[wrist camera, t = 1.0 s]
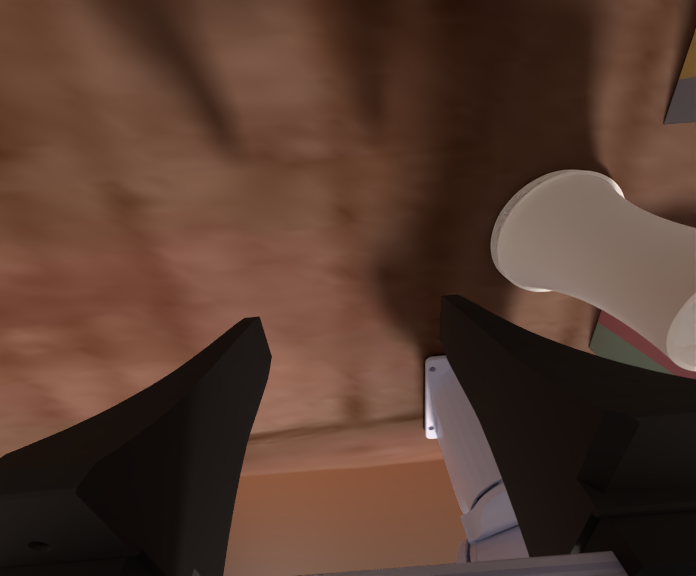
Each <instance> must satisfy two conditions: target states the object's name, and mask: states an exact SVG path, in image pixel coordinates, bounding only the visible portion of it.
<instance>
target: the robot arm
mask: <svg viewBox="0 0 696 576" xmlns="http://www.w3.org/2000/svg"><path fill="white" fill-rule="evenodd" d="M440 341H441V344H442V346H443V349H444V352H445V355H444V356H434V357H429V358H427V359H426V361H425V435H426V437H427V438H429V439H434V438H438V442H439V445H440V448H441V451H442V454H443V457H444V460H445V463H446V466H447V469H448V472H449V475H450V478H451V482H452V485H453V488H454V491H455V494H456V497H457V500H458V503H459V505H460V507H461V510H462V512H463V513H464V515H463V516H461V520H462V523H463V526H464V529H465V533H466V536H467V538H465V539H463V540H462V541H461V542H460V543H459V546H458V550H457V563H452V564H439V565H428V566H414V567H402V568H389V569H377V570H363V571H350V572H339V573H324V574H312V575H299V576H696V379H692V378H687V377H682V376H677V375H672V374H667V373H662V372H657V371H653V370H649V369H645V368H641V367H637V366H633V365H629V364H625V363H621V362H617V361H614V360H610V359H607V358H603V357H600V356H596V355H593V354H590V353H587V352H584V351H581V350H577V349H574V348H571V347H569V346H566V345H563V344H560V343H557V342H555V341H552V340H550V339H547V338H545V337H542V336H539V335H537V334H535V333H532V332H530V331H528V330H526V329H523V328H521V327H519V326H517V325H515V324H513V323H511V322H509V321H507V320H505V319H503V318H501V317H499V316H497V315H495V314H493V313H491V312H489V311H488V310H486V309H484V308H482V307H480V306H478V305H477V304H475V303H473V302H471V301H469V300H468V299H466V298H464V297H462V296H460V295H448V296H441V320H440ZM271 358H272V356H271V353H270V349H269V346H268V343H267V340H266V336H265V333H264V330H263V326H262V323H261V320H260V317H251V318H244V319H243V320H241V321H240V322H238V323H237V324H235V325H234V326H233V327H232V328H230V329H229V330H228V331H227V332H225V333H224V334H223V335H222V336H220V337H219V338H218V339H217V340H215V341H214V342H213V343H212V344H210V345H209V346H208V347H207V348H205V349H204V350H203V351H201V352H200V353H199V354H197V355H196V356H194V357H193V358H192V359H190V360H189V361H188V362H186V363H185V364H184V365H182V366H181V367H179V368H178V369H176V370H175V371H173V372H172V373H170V374H169V375H167V376H166V377H164V378H163V379H161V380H159V381H158V382H156V383H155V384H153V385H151V386H150V387H148V388H146V389H144V390H143V391H141V392H139V393H137V394H135V395H134V396H132V397H130V398H128V399H126V400H125V401H123V402H121V403H119V404H117V405H116V406H114V407H112V408H110V409H108V410H106V411H104V412H102V413H100V414H98V415H96V416H94V417H91V418H89V419H87V420H85V421H83V422H81V423H79V424H77V425H74V426H72V427H70V428H68V429H65V430H63V431H61V432H59V433H56V434H54V435H51V436H49V437H47V438H44V439H42V440H40V441H37V442H35V443H32V444H30V445H28V446H25V447H23V448H20V449H18V450H15V451H13V452H10V453H8V454H6V455H4V456H3V457H1V458H0V576H223V572H224V566H225V558H226V551H227V545H228V539H229V532H230V527H231V521H232V515H233V510H234V503H235V499H236V493H237V488H238V483H239V478H240V473H241V469H242V464H243V460H244V455H245V451H246V446H247V442H248V439H249V435H250V432H251V429H252V426H253V423H254V420H255V417H256V414H257V411H258V408H259V405H260V402H261V399H262V396H263V393H264V390H265V386H266V383H267V380H268V375H269V370H270V364H271ZM431 367H434V368H431Z"/></svg>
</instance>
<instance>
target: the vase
mask: <svg viewBox="0 0 696 576" xmlns="http://www.w3.org/2000/svg"><path fill="white" fill-rule="evenodd" d="M491 255H492V259H493V262H494V264H495V266H496V268H497V269H498V271H499V272H500V273H501V274H502V275H503V276H504V277H505V278H507V279H508V280H509V281H510V282H512V283H513V284H514V285H516V286H518V287H520V288H522V289H525V290H529V291H536V292H546V291H556V292H560V293H564V294H567V295H570V296H573V297H575V298H578V299H580V300H583V301H585V302H587V303H589V304H592V305H593V306H595V307H597V308H599V309H601V310H603V311H605V312H607V313H608V314H610V315H612V316H614V317H615V318H617V319H618V320H620V321H622V322H623V323H625V324H626V325H627V326H629V327H630V328H632V329H633V330H635V331H636V332H637V333H639V334H640V335H641V336H643V337H644V338H645V339H647V340H648V341H649V342H651V343H652V344H653V345H654V346H656V347H657V348H658V349H659V350H660V351H662V352H663V353H664V354H665V355H666V356H667V357H668V358H670V359H671V360H672V361H673V362H674V363H675V364H676V365H678V366H679V367H681V368H684V369H686V370H690V371H695V372H696V228H693V227H690V226H686V225H683V224H679V223H676V222H673V221H670V220H667V219H664V218H661V217H659V216H656V215H654V214H652V213H649V212H647V211H645V210H643V209H641V208H639V207H637V206H635V205H634V204H632V203H630V202H629V201H627V200H626V199H625V198H624V195H623V193H622V191H621V189H620V188H619V186H618V185H617V184H616V183H615V182H614V181H613V180H612V179H610V178H609V177H607V176H605V175H603V174H601V173H597V172H593V171H584V170H573V169H569V170H560V171H555V172H551V173H549V174H546V175H543V176H541V177H539V178H537V179H535V180H533V181H532V182H530V183H529V184H527V185H526V186H524V187H523V188H522V189H521V190H519V191H518V192H517V193H516V194H515V195H514V196H513V197H512V198H511V199H510V200H509V201H508V203H507V204H506V205H505V207H504V208H503V210H502V211H501V213H500V215H499V216H498V218H497V220H496V223H495V225H494V228H493V232H492V236H491Z"/></svg>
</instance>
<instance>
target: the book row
mask: <svg viewBox="0 0 696 576" xmlns="http://www.w3.org/2000/svg"><path fill="white" fill-rule="evenodd" d="M690 122H696V29H695V32H694V35H693V38H692V41H691V44H690V47H689V50H688V53H687V56H686V59H685V62H684V65H683V68H682V71H681V74H680V77H679V80H678V83H677V86H676V89H675V92H674V95H673V98H672V101H671V104H670V107H669V110H668V113H667V116H666V119H665V122H664V124H675V123H690ZM589 349H591V350H592V351H593V352H594V353H595V354H597V355H598V356H600V357H603V358H607V359H610V360H614V361H617V362H621V363H625V364H629V365H633V366H637V367H641V368H645V369H649V370H653V371H657V372H662V373H667V374H672V375H677V376H682V377H687V378H692V379H696V372H695V371H690V370H686V369H684V368H681V367H679V366H678V365H676V364H675V363H674V362H673V361H672V360H671V359H670V358H668V357H667V356H666V355H665V354H664V353H663V352H662V351H660V350H659V349H658V348H657V347H656V346H654V345H653V344H652V343H651V342H649V341H648V340H647V339H645V338H644V337H643V336H641V335H640V334H639V333H637V332H636V331H635V330H633V329H632V328H630V327H629V326H627V325H626V324H625V323H623V322H622V321H620V320H618V319H617V318H615V317H614V316H612V315H610V314H608V313H607V312H605V311H603V310H601V313H600V316H599V319H598V322H597V325H596V328H595V331H594V334H593V337H592V340H591V343H590V346H589Z"/></svg>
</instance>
